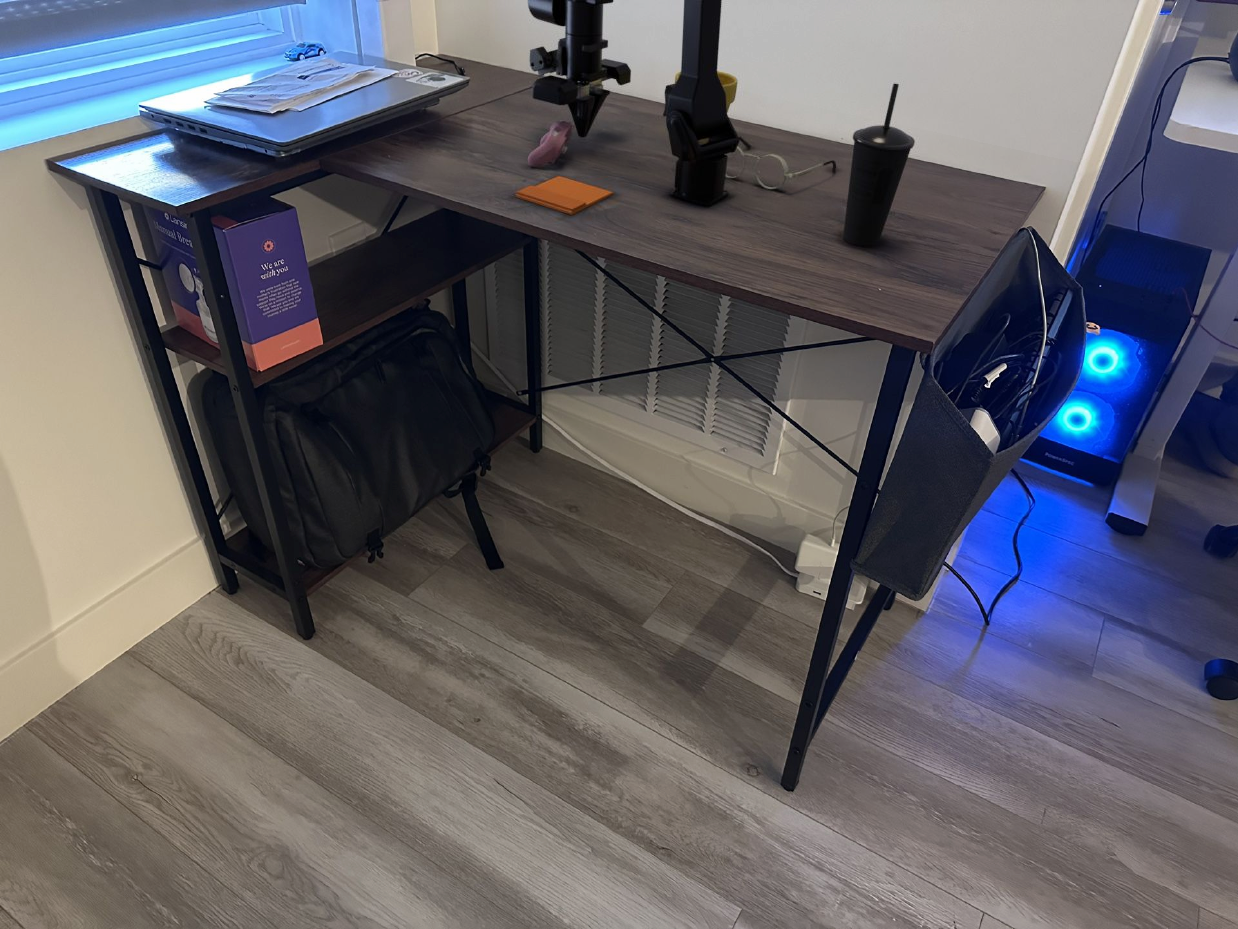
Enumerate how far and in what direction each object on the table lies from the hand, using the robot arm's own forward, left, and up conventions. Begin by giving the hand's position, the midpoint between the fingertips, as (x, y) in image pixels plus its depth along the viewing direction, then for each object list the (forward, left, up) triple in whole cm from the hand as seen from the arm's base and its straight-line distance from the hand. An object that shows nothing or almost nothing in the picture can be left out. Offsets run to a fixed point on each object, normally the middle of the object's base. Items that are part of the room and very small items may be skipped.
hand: (582, 136), depth 143 cm
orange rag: (-11, +19, -2) cm, 22 cm away
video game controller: (0, +8, -2) cm, 8 cm away
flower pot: (-12, -18, -2) cm, 22 cm away
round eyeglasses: (-29, -11, -2) cm, 31 cm away
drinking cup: (-51, +5, -2) cm, 51 cm away
